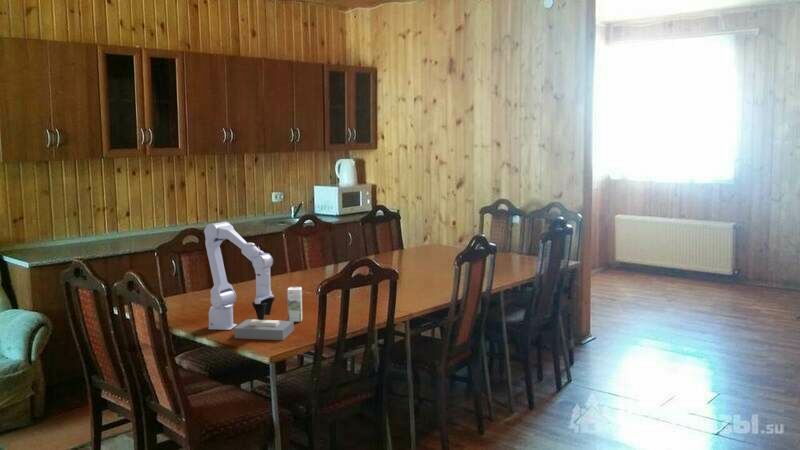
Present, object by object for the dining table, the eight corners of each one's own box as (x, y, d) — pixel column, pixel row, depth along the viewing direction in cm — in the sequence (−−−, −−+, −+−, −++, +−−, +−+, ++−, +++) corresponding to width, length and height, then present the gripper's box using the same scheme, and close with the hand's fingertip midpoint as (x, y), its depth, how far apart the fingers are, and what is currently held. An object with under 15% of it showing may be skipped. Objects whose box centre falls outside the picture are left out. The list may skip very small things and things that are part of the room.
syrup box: (302, 318, 317) (301, 286, 315) (301, 322, 311) (300, 289, 309) (289, 319, 316) (288, 286, 314) (287, 322, 311) (287, 289, 309)
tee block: (250, 334, 292) (249, 322, 291) (253, 331, 296) (253, 319, 295) (276, 335, 290) (276, 323, 289) (279, 332, 294) (279, 320, 293)
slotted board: (234, 338, 288) (234, 328, 287) (247, 328, 301) (247, 319, 301) (283, 340, 285) (282, 330, 284) (293, 330, 298) (293, 321, 298)
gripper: (266, 288, 282) (267, 322, 284) (278, 280, 297) (279, 313, 299) (249, 287, 284) (250, 321, 285) (262, 280, 298) (262, 312, 300)
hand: (264, 317), depth 292 cm, fingers open, 7 cm apart
